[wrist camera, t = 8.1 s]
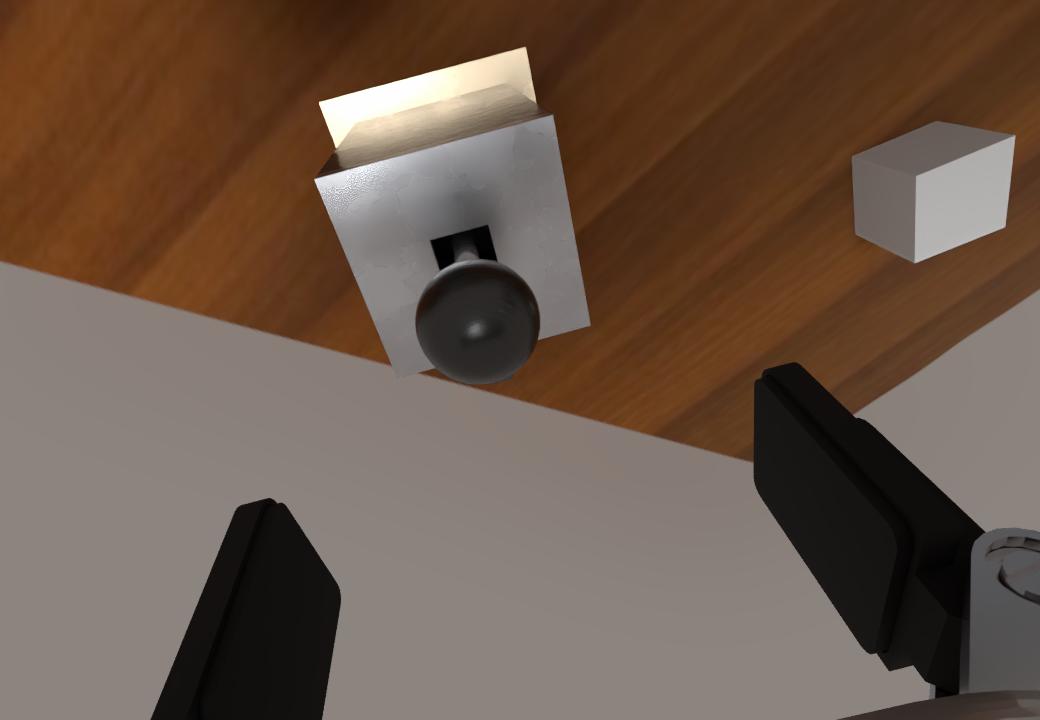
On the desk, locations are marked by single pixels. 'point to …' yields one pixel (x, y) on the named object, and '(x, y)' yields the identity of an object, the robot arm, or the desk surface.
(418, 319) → the ball knob lever
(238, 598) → the robot arm
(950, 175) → the white cube
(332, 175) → the grey slotted box
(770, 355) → the desk surface
